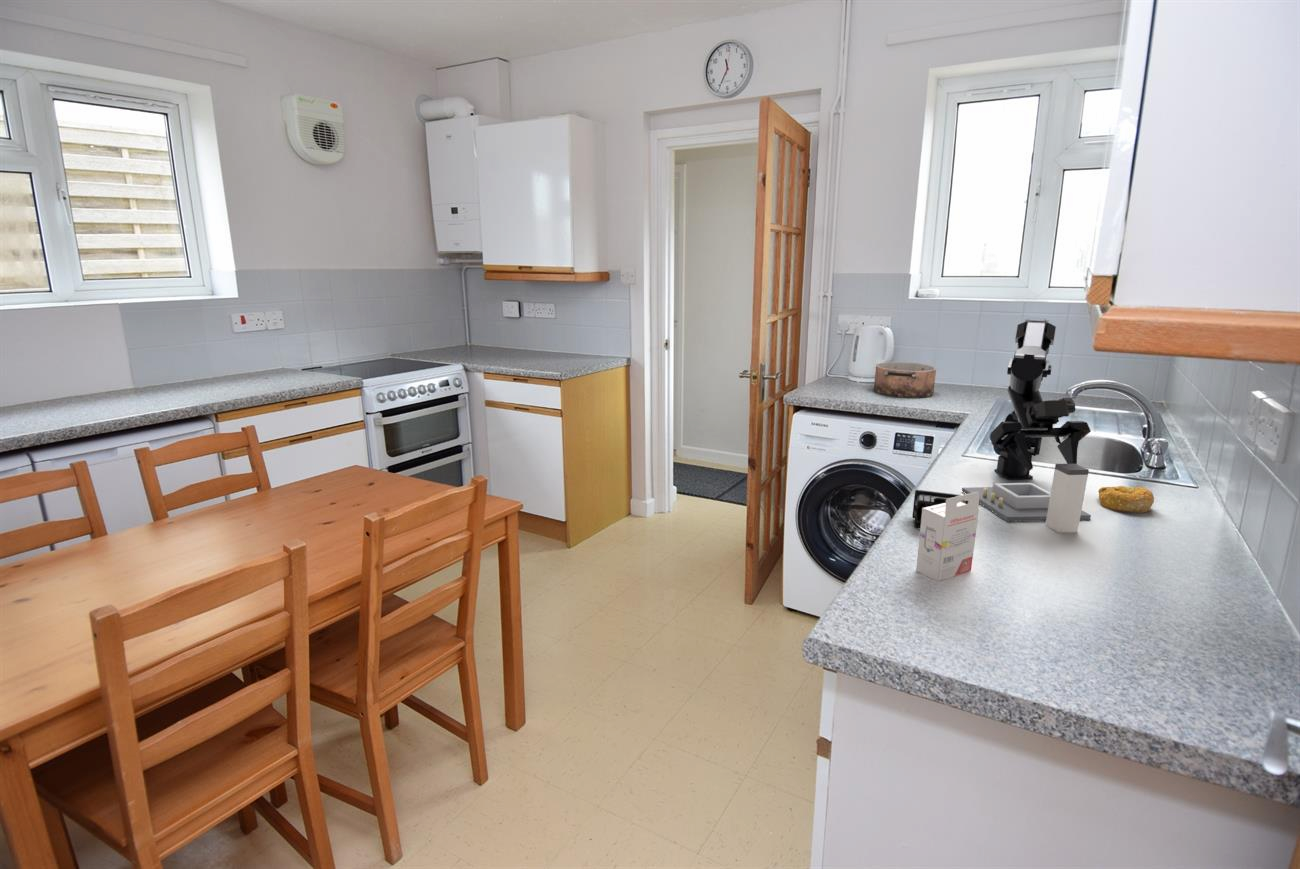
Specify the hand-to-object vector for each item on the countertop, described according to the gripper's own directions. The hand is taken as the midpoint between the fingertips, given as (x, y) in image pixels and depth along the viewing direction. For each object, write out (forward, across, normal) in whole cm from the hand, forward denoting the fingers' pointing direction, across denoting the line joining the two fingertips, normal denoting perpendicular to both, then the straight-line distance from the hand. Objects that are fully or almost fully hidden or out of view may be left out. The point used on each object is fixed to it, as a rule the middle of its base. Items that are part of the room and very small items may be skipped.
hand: (1052, 468), depth 137 cm
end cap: (+10, -24, +6) cm, 26 cm away
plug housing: (+11, 0, +4) cm, 12 cm away
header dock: (+2, 0, +13) cm, 13 cm away
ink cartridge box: (+24, -33, -8) cm, 41 cm away
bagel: (+3, +22, +13) cm, 26 cm away
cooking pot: (-85, +26, +100) cm, 134 cm away
